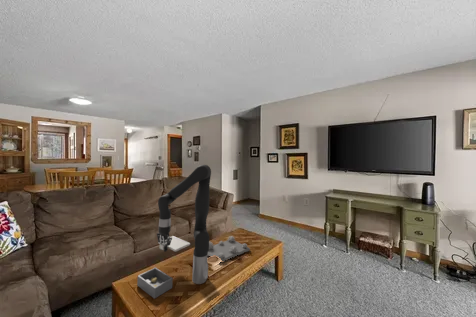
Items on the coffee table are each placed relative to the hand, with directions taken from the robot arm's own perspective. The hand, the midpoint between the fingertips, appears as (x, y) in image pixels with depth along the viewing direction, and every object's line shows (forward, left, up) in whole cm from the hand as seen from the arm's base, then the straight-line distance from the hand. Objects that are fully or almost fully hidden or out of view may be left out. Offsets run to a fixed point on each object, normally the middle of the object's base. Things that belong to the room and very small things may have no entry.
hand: (163, 250), depth 135 cm
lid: (-6, 0, 0) cm, 6 cm away
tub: (+10, +6, -17) cm, 21 cm away
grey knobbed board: (-53, +11, -18) cm, 57 cm away
